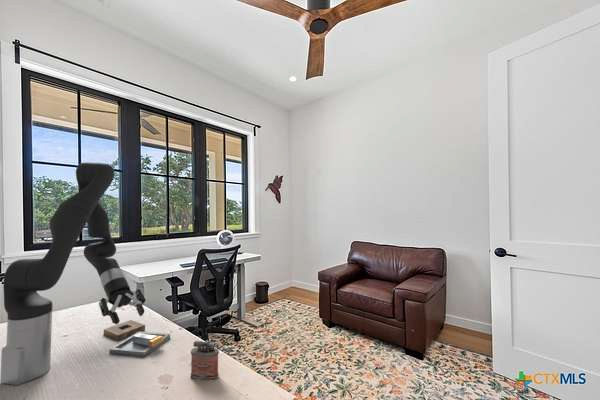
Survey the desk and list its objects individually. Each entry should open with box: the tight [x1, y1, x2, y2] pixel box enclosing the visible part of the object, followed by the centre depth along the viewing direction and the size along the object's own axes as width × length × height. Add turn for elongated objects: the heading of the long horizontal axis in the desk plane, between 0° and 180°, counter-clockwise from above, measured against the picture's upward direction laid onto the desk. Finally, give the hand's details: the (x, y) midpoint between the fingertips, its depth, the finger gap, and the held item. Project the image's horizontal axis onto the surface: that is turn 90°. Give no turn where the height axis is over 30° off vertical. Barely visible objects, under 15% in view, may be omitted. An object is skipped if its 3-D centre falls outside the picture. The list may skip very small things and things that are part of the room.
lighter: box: [190, 339, 220, 382], centre depth 76 cm, size 8×3×10 cm, turn 84°
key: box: [133, 333, 163, 347], centre depth 93 cm, size 4×2×12 cm
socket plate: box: [103, 319, 146, 341], centre depth 104 cm, size 10×10×2 cm
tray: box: [109, 331, 171, 358], centre depth 94 cm, size 13×13×2 cm
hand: (130, 318), depth 98 cm, fingers open, 8 cm apart
